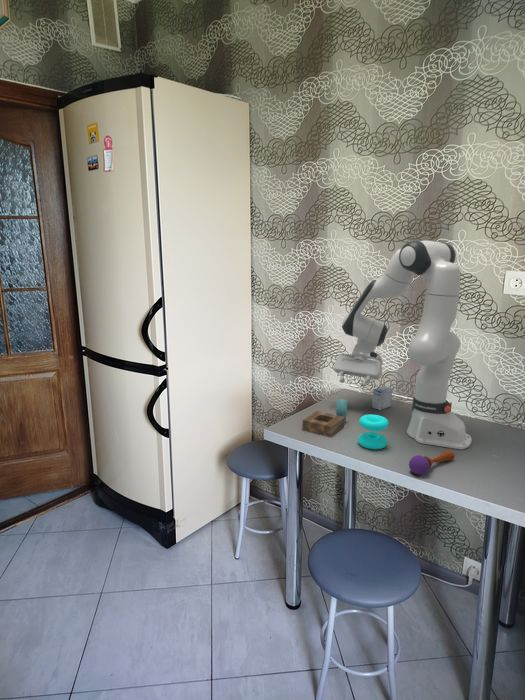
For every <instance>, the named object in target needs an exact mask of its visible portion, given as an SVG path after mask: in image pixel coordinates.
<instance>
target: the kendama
mask: <svg viewBox="0 0 525 700" xmlns="http://www.w3.org/2000/svg"><path fill="white" fill-rule="evenodd" d="M455 458H456V457H455V453H454V451H453V450H451V449H450V450H449V449H448V450H446V451H444V452H442V453H440V454H438V455H437V456H434V457H433V458H430V457H428V456H426V455H424V456H423V455H420V454H419V455H418V454H416V455H413V456H412V457H411V458H410V459H409V461H408V466H409V467H408V468H409V470H410V471H411V472H412V473H413V474H415V475H417V476H422V475H425V474H427V473H428V472H429V470H430V469H431V468H432V465H433V464H435V463H439V462H440V463H441V462H448V461H453V460H454V459H455Z"/></svg>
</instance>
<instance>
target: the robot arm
mask: <svg viewBox="0 0 525 700" xmlns="http://www.w3.org/2000/svg"><path fill="white" fill-rule="evenodd" d="M455 261H456V251H455V248H454V247H453V246H452V245H450V244H449V243H447V242H443V241H433V240H411V241H409V242H406V243H405V244H403V246H401V248H399V249H397V250H396V251H395V252H394V254H393V255H392V257H391V258H390V260H389V262H388V263H387V265H386V268H385V270H384V272H382V273H383V274H382V275H381V276H380V277H379V278H377V279H374V280H370V282H369V284H368V285H367V286H366V287H365V289H364V290H363V291H362V294H361V295H360V296H359V298H358V299H357V300H356V302H355V304H354V305H353V307H352V308H351V310H350V311H349V312H348V314H346V316H345V317H344V319H343V321H342V324H341V329H342V331H343V332H344V334H345V335H346V336H350V337H354V338H357V340H356V343H355V345H354V347H353V349H352V353H351V354H349V353H340V354H338V355H337V358H336V361H335V363H334V365H332V367H333V371H334V372H335V373H336V374H339V377H340V378H339V383H342V384H344V383H345V380H346V378H345V376H346V375H347V376H353V377H359V378H365V379H364V380H362V381H361V383H360V386H361V387H366V386H367V384H368V383H369V382H370V381H372V380H377V381H378V380H380V379H381V378H382V375H383V364H384V362H383V358H382V356H381V354H380V353H377V352H376V351H375V350H376V348H377V347H380V346H382V345H384V342H385V339H386V335H387V333H388V332H389V331H388V330H389V329H388V327H387V324H385V323H384V322H382V321H380V320H377V319H373V318H371V317H368V316H366V315H364V314H362V312H363V311H364V309H366V307H367V305H368V304H369V302H370V301H372V300H374V299H395V298H399V297H401V296H403V295H405V294H406V293H407V291H408V289H410V286H411V285H412V282H413V280H414V278H415V275H417V276H421V275H424V276H425V278H426V287H425V292H424V295H425V296H424V302H423V308H422V314H421V315H422V316H421V319H420V322H419V324H418V328H417V330H416V333H415V336H414V338H413V339H412V341H411V342H410V344H409V346H408V348H407V349H408V356H409V358H410V360H411V361H412V362H413V363H414V364H416V365H419V366H420V369H419V371H418V372H417V374H416V376H415V377H416V378H415V386H414V387H415V388H414V396H413V397H412V401H411V411H412V412H411V418H410V421H409V424H408V428H407V430H406V434H407V435H408V436H409V437H411V438H413V439H414V440H415V441H416V442H417V443H418V444H419V443H420V444H423V445H424V444H425V445H431V446H437V447H445V448H449V449H455V450H466V449H467V448H469V447H470V446H471V444H472V443H473V442H472V439H473V438H472V437H471V435H470V434H469V433H467V431H466V425H465V422H464V421H463V420H461V419H460V418H459V416H457V415H456V414H455V413H454V412H453V411H452V403H453V402H452V401H450V402H449V401H448V400H447V396H448V395H447V394H448V386H449V379H450V376H451V372H452V370H453V366H454V364H455V363H454V362H455V360H456V356H457V354H458V352H459V350H460V348H461V341H460V337H459V336H458V335H457V334H456V333H454V331H453V332H452V331H451V327H452V325H453V323H454V321H455V320H456V318H457V314H458V305H459V298H460V292H461V270H460V267H459V266H458V265H457V264H456V263H455Z"/></svg>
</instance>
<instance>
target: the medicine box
mask: <svg viewBox="0 0 525 700" xmlns="http://www.w3.org/2000/svg"><path fill="white" fill-rule="evenodd" d="M392 395H393V388H392V387H389V386H385V385H384V386H380V387H376V388H373V391H372V404H371V407H372V408H373V409H375V410H377V409H378V411H382V410H385V409H387V408H390V407H391V406H392Z"/></svg>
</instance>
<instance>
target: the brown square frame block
mask: <svg viewBox="0 0 525 700" xmlns="http://www.w3.org/2000/svg"><path fill="white" fill-rule="evenodd" d="M344 427H345V423H344V417H343V416H338V415H336V414H333V413H328V412H325V411H324V412H323V411H319V410H316V411H314V412H312V413H311V414H309V415H308V416H306V417H305V418H304V419H302V428H301V429H302V431H305V430H306V431H305V432H309V431H310V433H313V432H314V434H318V435H322V436H326V437H329V438H330V437H331V438H332V437H333V436H335V434H337V433H338V432H339V431H340V430H342V429H343V428H344Z"/></svg>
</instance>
